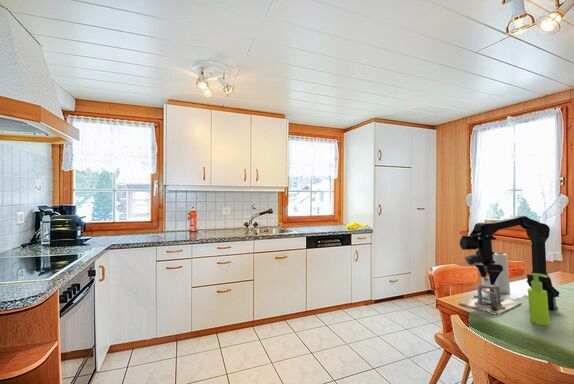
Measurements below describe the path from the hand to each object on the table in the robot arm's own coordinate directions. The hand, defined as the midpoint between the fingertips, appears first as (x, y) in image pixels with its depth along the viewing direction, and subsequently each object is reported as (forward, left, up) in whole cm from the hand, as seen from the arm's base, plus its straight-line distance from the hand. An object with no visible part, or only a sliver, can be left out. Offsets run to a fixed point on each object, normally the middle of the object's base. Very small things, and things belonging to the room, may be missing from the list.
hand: (487, 282), depth 131 cm
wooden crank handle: (+1, -6, -11) cm, 13 cm away
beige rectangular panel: (+2, -6, -12) cm, 14 cm away
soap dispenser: (-19, +1, -13) cm, 23 cm away
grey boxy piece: (0, 0, -10) cm, 10 cm away
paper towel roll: (+8, -34, -13) cm, 37 cm away
